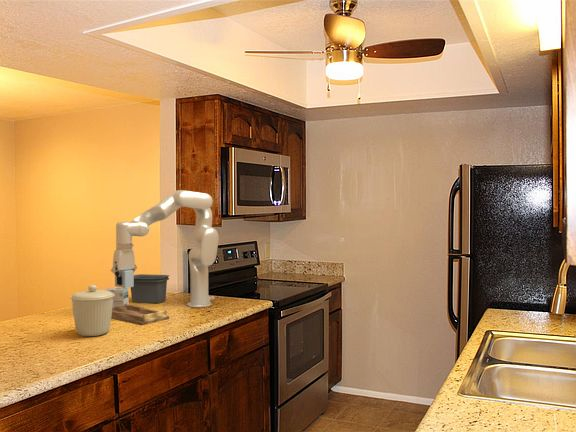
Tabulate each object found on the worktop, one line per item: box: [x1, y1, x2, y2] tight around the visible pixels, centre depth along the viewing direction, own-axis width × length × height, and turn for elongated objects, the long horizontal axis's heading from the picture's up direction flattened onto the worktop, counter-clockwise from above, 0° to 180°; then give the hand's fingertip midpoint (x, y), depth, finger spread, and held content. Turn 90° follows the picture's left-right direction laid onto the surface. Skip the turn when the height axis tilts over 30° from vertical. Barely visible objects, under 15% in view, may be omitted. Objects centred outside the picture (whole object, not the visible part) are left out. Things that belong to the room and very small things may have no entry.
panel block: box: [114, 270, 135, 289], centre depth 268 cm, size 5×8×8 cm, turn 54°
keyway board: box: [111, 304, 170, 326], centre depth 264 cm, size 16×30×4 cm, turn 54°
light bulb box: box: [103, 287, 130, 308], centre depth 284 cm, size 11×7×11 cm, turn 84°
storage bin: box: [130, 273, 170, 304], centre depth 303 cm, size 21×16×14 cm
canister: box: [69, 284, 115, 337], centre depth 233 cm, size 18×18×21 cm
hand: (124, 283), depth 268 cm, fingers closed on panel block, 5 cm apart
